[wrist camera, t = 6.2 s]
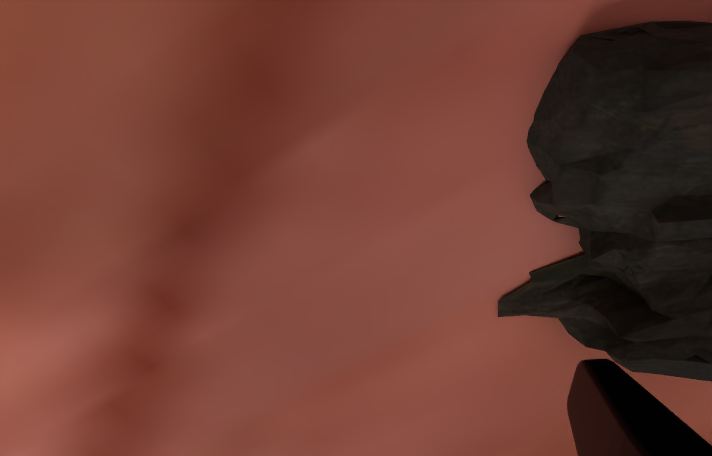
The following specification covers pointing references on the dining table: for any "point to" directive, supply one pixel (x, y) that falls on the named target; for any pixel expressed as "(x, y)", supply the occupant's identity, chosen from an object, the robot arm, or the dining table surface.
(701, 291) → the wood
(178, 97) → the dining table surface
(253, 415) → the dining table surface
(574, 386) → the robot arm
